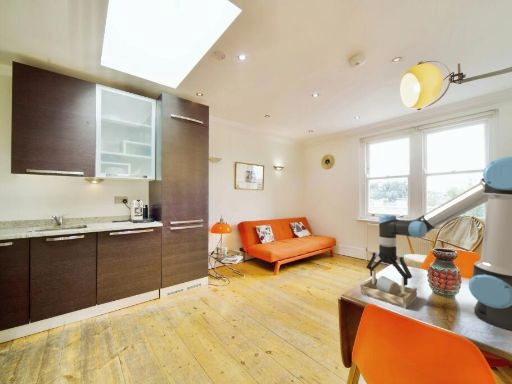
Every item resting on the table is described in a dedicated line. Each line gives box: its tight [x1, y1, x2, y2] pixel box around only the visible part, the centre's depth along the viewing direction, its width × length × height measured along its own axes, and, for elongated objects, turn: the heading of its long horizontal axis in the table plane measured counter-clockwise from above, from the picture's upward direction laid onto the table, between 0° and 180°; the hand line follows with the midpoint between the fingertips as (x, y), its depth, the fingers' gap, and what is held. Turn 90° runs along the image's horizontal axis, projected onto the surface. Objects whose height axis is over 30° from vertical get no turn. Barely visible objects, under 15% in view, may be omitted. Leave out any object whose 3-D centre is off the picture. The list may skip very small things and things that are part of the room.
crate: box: [359, 277, 418, 309], centre depth 112 cm, size 20×17×5 cm
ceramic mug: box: [376, 276, 401, 296], centre depth 112 cm, size 11×8×8 cm
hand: (388, 287), depth 112 cm, fingers open, 13 cm apart
